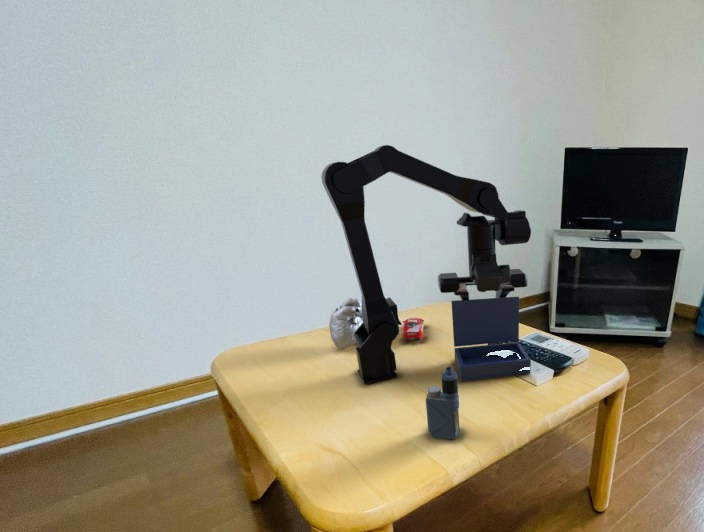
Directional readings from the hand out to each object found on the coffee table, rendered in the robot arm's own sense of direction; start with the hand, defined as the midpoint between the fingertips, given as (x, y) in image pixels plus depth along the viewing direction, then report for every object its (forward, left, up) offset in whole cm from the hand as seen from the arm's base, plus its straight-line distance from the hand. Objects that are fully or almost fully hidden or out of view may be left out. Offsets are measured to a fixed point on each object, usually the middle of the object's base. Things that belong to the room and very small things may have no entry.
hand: (483, 317), depth 88 cm
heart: (-26, +20, -9) cm, 34 cm away
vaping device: (-20, -25, -9) cm, 33 cm away
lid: (-1, -3, 0) cm, 3 cm away
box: (-2, -8, -9) cm, 12 cm away
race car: (-10, +19, -9) cm, 24 cm away
